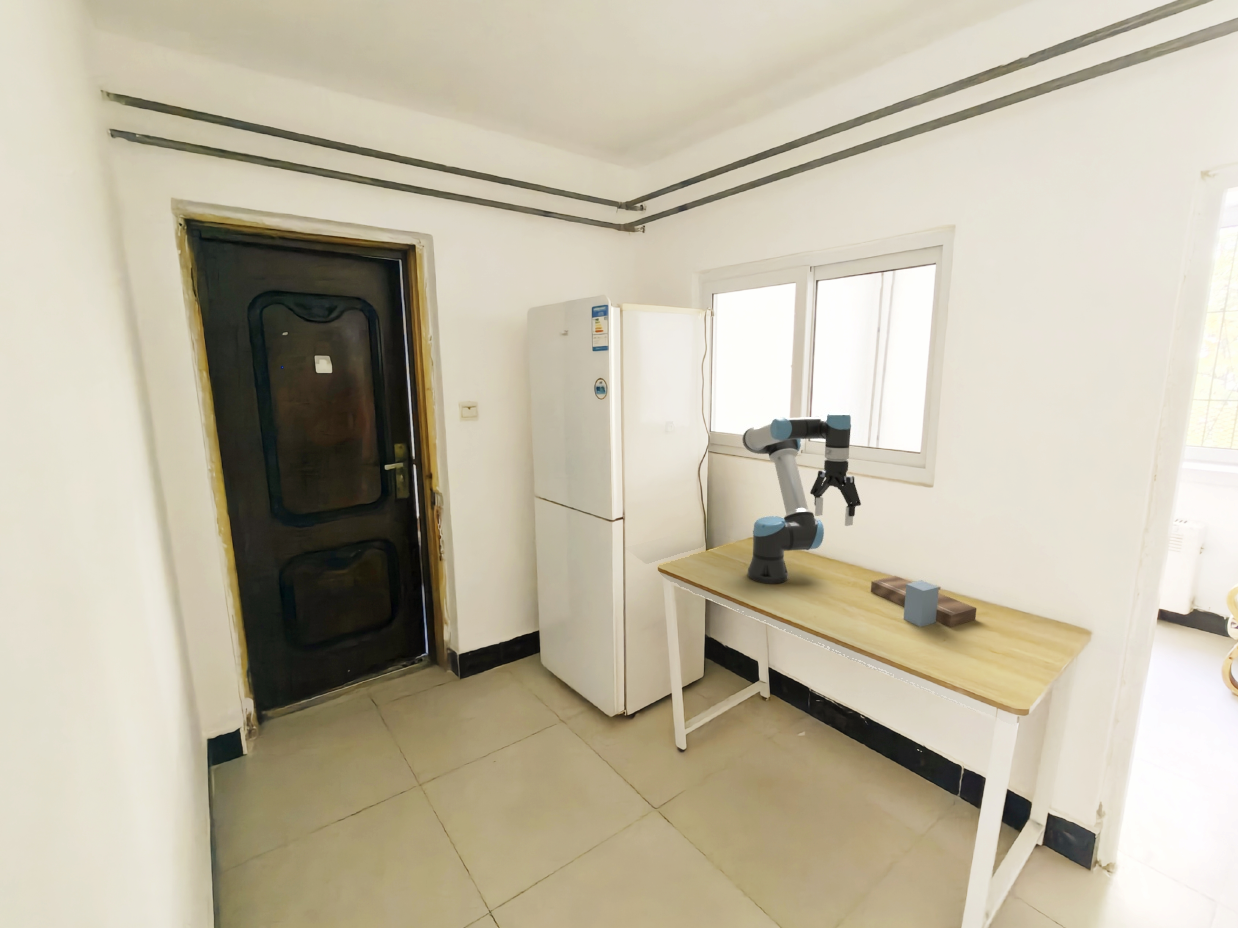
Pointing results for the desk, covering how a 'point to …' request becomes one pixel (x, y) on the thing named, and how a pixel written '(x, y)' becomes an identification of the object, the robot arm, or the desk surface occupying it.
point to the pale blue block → (921, 603)
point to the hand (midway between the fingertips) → (833, 520)
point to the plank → (947, 607)
